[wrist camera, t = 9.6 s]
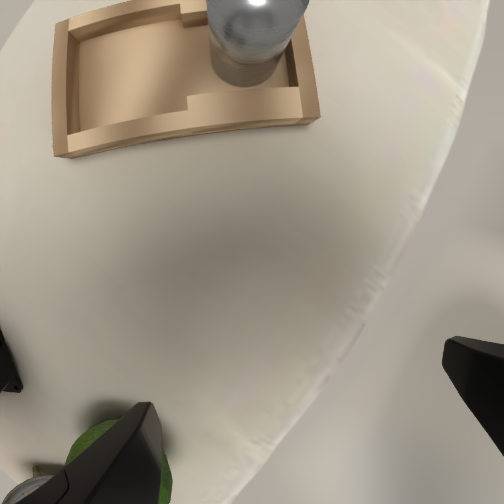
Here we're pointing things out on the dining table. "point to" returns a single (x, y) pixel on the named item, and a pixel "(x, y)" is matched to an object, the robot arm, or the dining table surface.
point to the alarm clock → (26, 487)
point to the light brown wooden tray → (162, 80)
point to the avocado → (97, 432)
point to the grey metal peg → (250, 37)
